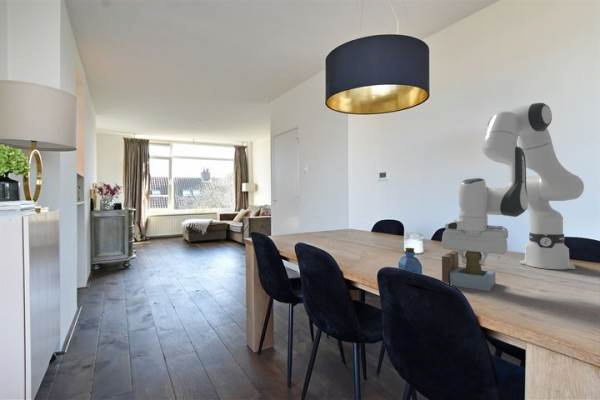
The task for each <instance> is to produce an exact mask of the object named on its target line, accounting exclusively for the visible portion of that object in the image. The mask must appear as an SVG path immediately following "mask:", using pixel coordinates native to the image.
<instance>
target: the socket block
mask: <svg viewBox="0 0 600 400" xmlns="http://www.w3.org/2000/svg"><path fill="white" fill-rule="evenodd" d="M465 270H466V266H459V267H457V268H456V269H454V270H453V271H452V272H450V284H452V285H454V286H453V287H458V288H466V289H470V288H471V289H472V290H477V291H478V290H479V291H483V292H484V291H485V292H490V291H491V290H492V289H493V287H494V286H495V284H496V270H490V269H484V268H481V270H482V276H481V275H473V274H466V273H465Z"/></svg>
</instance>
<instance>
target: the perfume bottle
mask: <svg viewBox="0 0 600 400" xmlns="http://www.w3.org/2000/svg"><path fill="white" fill-rule="evenodd" d="M404 249H405V251H404V254H405V256H402V257H401V258H400V260H399V261H398V270H399V269H403V270H407V271H411V272H415V273H419V274H422V275H423V265H422V263H421V261H420V260H419V259H418V257H416V256H415V254H416V252H415V247H405V248H404Z"/></svg>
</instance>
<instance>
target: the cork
mask: <svg viewBox="0 0 600 400" xmlns="http://www.w3.org/2000/svg"><path fill="white" fill-rule="evenodd" d="M464 256H465V258H466V259H467V264H466V265H465V267H466V270H465V273H466V274H473V275H481V276H482V270H481V269H482V265H479V260H482V259H483V253H482V252H472V251H465V252H464Z"/></svg>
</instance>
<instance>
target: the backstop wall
mask: <svg viewBox="0 0 600 400" xmlns="http://www.w3.org/2000/svg"><path fill="white" fill-rule="evenodd" d="M459 263H460V261H459V250H450V251H449V252H447V253H446V254H444V255H442V256H441V282H442V281H443V282H446V283H449V284H450V272H452V271H453V270H454V269H456V268H457V267H460V266H459Z"/></svg>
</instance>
